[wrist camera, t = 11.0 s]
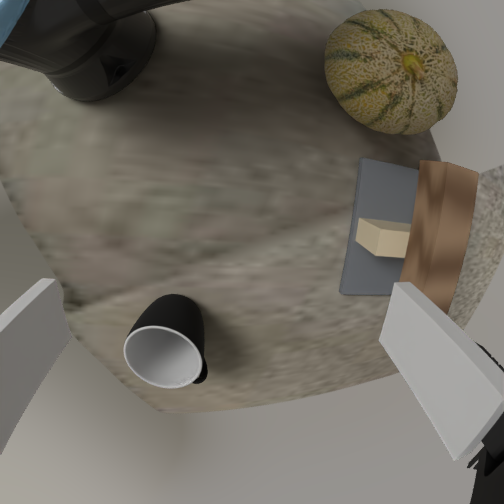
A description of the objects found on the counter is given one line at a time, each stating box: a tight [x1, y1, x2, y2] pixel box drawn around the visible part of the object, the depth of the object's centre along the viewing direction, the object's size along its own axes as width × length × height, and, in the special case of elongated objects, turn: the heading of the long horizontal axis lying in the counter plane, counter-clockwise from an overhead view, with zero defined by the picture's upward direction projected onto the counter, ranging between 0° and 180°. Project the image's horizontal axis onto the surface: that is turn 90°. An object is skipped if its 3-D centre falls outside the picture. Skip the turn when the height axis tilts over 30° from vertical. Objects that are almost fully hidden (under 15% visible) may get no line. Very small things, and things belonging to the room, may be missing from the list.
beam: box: [399, 160, 479, 315], centre depth 28 cm, size 20×5×5 cm, turn 176°
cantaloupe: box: [324, 9, 458, 135], centre depth 23 cm, size 15×15×15 cm
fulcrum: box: [339, 158, 419, 295], centre depth 33 cm, size 18×14×7 cm
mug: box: [124, 294, 208, 388], centre depth 34 cm, size 12×9×10 cm
